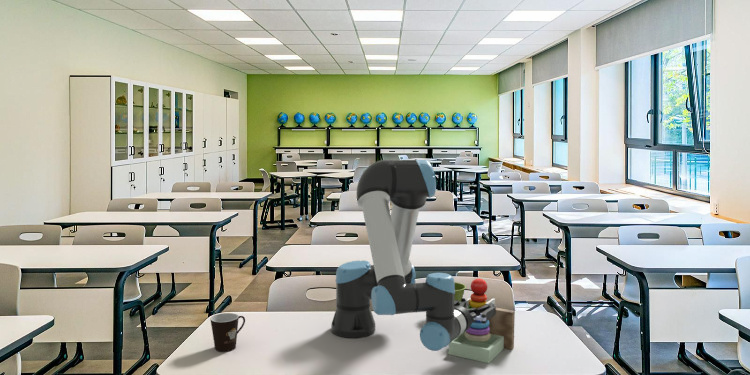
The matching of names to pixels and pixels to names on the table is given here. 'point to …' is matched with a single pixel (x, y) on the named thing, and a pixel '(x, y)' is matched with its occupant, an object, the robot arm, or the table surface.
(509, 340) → the backstop wall
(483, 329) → the stacking toy
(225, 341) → the coffee mug
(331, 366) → the table surface
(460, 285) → the plant pot
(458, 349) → the mint green square tray
